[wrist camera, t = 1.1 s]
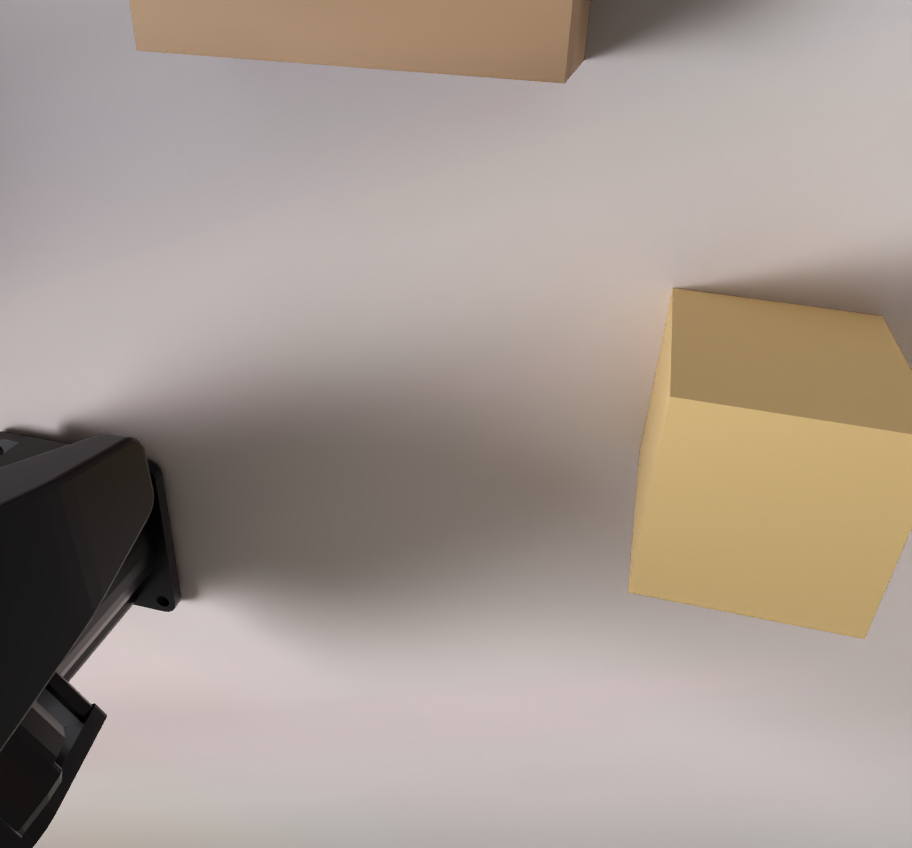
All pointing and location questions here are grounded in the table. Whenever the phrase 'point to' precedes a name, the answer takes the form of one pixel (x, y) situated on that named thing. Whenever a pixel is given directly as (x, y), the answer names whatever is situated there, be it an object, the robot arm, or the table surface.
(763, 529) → the ochre block
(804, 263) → the table surface
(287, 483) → the table surface
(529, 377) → the table surface
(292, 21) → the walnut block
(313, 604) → the table surface
